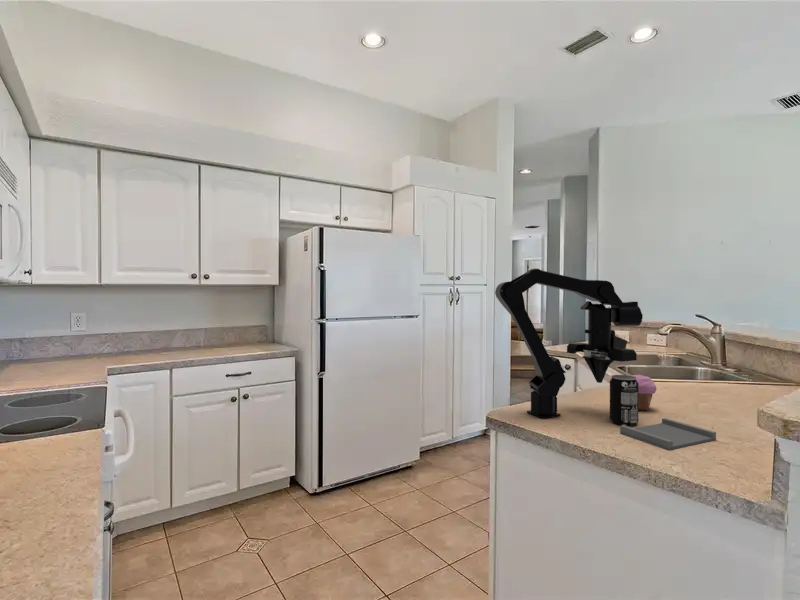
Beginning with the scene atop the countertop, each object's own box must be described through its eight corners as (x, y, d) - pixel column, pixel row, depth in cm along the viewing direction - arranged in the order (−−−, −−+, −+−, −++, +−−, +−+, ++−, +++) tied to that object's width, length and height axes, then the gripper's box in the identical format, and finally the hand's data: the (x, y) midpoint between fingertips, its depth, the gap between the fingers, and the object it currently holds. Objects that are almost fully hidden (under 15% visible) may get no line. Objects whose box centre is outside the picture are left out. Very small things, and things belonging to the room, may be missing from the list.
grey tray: (669, 450, 90) (669, 441, 90) (620, 433, 101) (620, 425, 101) (716, 439, 96) (716, 432, 96) (665, 425, 107) (665, 417, 107)
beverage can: (614, 417, 114) (614, 373, 113) (641, 422, 109) (641, 376, 109) (605, 422, 109) (605, 376, 109) (633, 428, 104) (633, 380, 104)
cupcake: (658, 414, 117) (658, 378, 117) (623, 410, 120) (623, 376, 120) (653, 406, 125) (653, 372, 125) (620, 403, 128) (620, 370, 128)
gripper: (651, 327, 110) (651, 386, 110) (593, 323, 127) (593, 374, 128) (621, 329, 106) (620, 390, 106) (565, 324, 123) (565, 377, 123)
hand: (599, 382), depth 116 cm, fingers closed
